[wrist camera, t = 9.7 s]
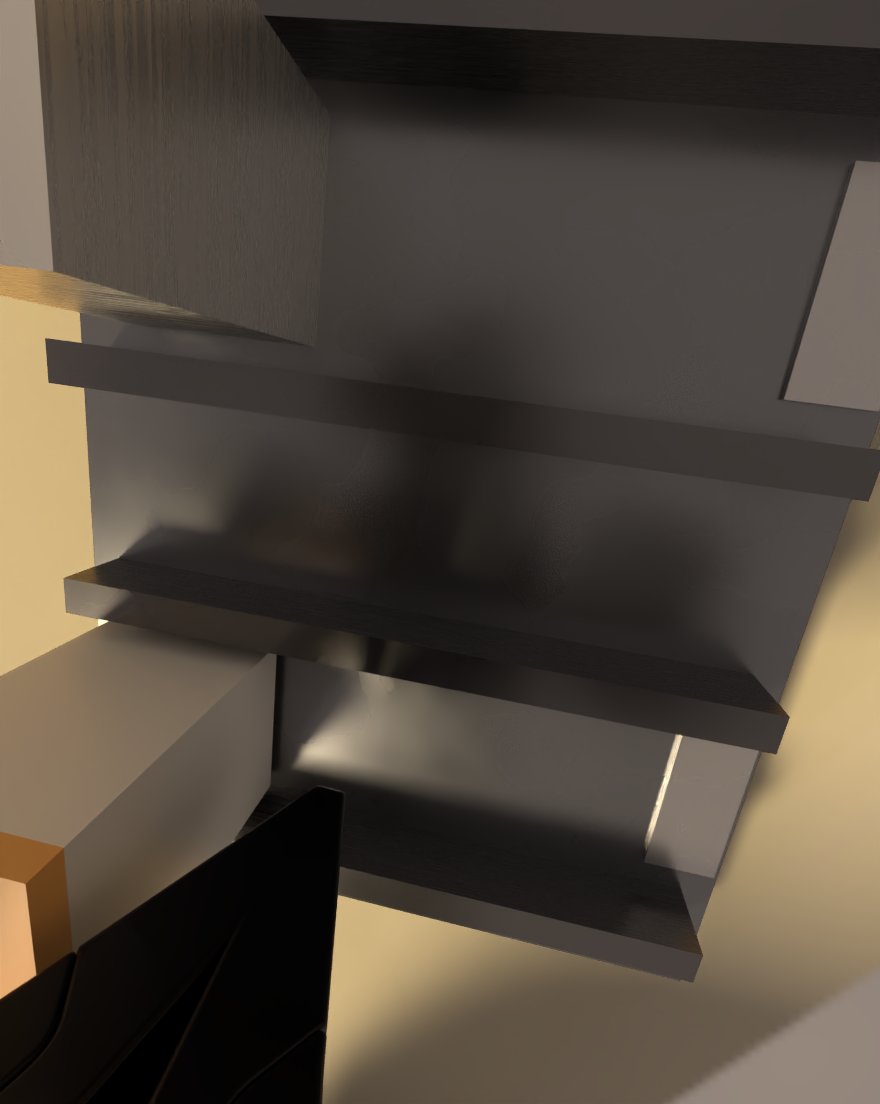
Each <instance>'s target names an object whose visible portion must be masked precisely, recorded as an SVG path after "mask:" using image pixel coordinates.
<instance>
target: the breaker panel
mask: <svg viewBox="0 0 880 1104" xmlns="http://www.w3.org/2000/svg"><path fill="white" fill-rule="evenodd" d="M0 295H1V296H5V297H10V298H15V299H19V300H24V301H29V302H33V303H38V304H42V305H47V306H52V307H56V308H61V309H66V310H70V311H75V312H80V322H81V339H82V343H77V342H70V341H62V340H55V339H47V338H45V341H46V354H47V367H48V380H49V383H54V384H61V385H68V386H75V387H82V388H84V391H85V408H86V425H87V443H88V460H89V477H90V494H91V512H92V529H93V546H94V563H95V567H93V568H90V569H87V570H84V571H82V572H79V573H76V574H73V575H71V576H68V577H65V578H64V591H65V604H66V613H70V614H75V615H80V616H85V617H90V618H95V619H98V626H100V625H102V624H104V623H106V622H108V621H111V622H116V623H121V624H126V625H131V626H136V627H141V628H146V629H151V630H156V631H161V632H166V633H171V634H176V635H181V636H186V637H191V638H196V639H201V640H206V641H211V642H216V643H221V644H226V645H231V646H236V647H241V648H246V649H251V650H256V651H261V652H266V653H271V654H276V655H277V656H276V677H275V699H274V720H273V741H272V763H271V784H270V787H269V788H268V790H267V791H266V793H265V794H264V796H263V797H262V799H261V800H260V802H259V803H258V805H257V806H256V808H255V809H254V811H253V812H252V814H251V815H250V816H249V818H248V819H247V821H246V822H245V824H244V825H243V827H242V828H241V830H240V831H239V833H238V834H237V836H236V837H235V839H234V840H233V842H234V841H235V840H237V839H238V838H240V837H241V836H243V835H244V834H245V833H247V832H248V831H250V830H251V829H253V828H254V827H256V826H257V825H259V824H260V823H262V822H263V821H265V820H266V819H268V818H269V817H271V816H272V815H274V814H275V813H276V812H278V811H279V810H281V809H282V808H284V807H285V806H287V805H288V804H290V803H291V802H293V801H294V800H296V799H297V798H299V797H300V796H302V795H303V794H304V793H306V792H307V791H309V790H310V789H312V788H313V787H316V786H324V787H328V788H331V789H335V790H339V791H343V792H344V793H345V797H346V798H345V810H344V823H343V835H342V848H341V860H340V873H339V885H338V895H341V896H345V897H348V898H352V899H356V900H360V901H364V902H368V903H372V904H376V905H380V906H384V907H388V908H392V909H396V910H400V911H404V912H408V913H412V914H416V915H420V916H424V917H428V918H432V919H436V920H440V921H444V922H448V923H452V924H456V925H460V926H464V927H468V928H472V929H476V930H480V931H484V932H488V933H492V934H496V935H500V936H504V937H508V938H512V939H516V940H520V941H524V942H528V943H532V944H536V945H540V946H544V947H548V948H552V949H556V950H560V951H564V952H568V953H572V954H576V955H580V956H584V957H588V958H592V959H596V960H600V961H604V962H608V963H612V964H616V965H619V966H623V967H627V968H631V969H635V970H639V971H643V972H647V973H651V974H655V975H659V976H663V977H667V978H671V979H675V980H679V981H680V980H685V981H689V982H693V981H694V978H695V975H696V973H697V970H698V967H699V964H700V962H701V959H702V956H703V954H702V951H701V948H700V945H699V942H698V939H697V936H696V935H697V932H698V929H699V926H700V924H701V921H702V918H703V915H704V912H705V910H706V907H707V904H708V901H709V898H710V896H711V893H712V890H713V887H714V884H715V881H716V879H717V876H718V873H719V870H720V867H721V865H722V862H723V859H724V856H725V853H726V850H727V848H728V845H729V842H730V839H731V836H732V834H733V831H734V828H735V825H736V822H737V819H738V817H739V814H740V811H741V808H742V805H743V803H744V800H745V797H746V794H747V791H748V788H749V786H750V783H751V780H752V777H753V774H754V772H755V769H756V766H757V763H758V760H759V757H760V755H761V752H767V753H772V754H776V753H777V751H778V748H779V745H780V742H781V740H782V737H783V734H784V731H785V729H786V726H787V723H788V720H789V718H790V717H789V716H788V715H787V713H786V712H785V711H784V710H783V709H782V708H781V706H780V705H779V701H780V698H781V695H782V693H783V690H784V687H785V684H786V681H787V679H788V676H789V673H790V670H791V667H792V664H793V662H794V659H795V656H796V653H797V650H798V648H799V645H800V642H801V639H802V636H803V634H804V631H805V628H806V625H807V622H808V619H809V617H810V614H811V611H812V608H813V605H814V603H815V600H816V597H817V594H818V591H819V588H820V586H821V583H822V580H823V577H824V574H825V572H826V569H827V566H828V563H829V560H830V557H831V555H832V552H833V549H834V546H835V543H836V541H837V538H838V535H839V532H840V529H841V526H842V524H843V521H844V518H845V515H846V512H847V510H848V507H849V504H850V501H851V499H855V500H862V501H869V498H870V496H871V493H872V490H873V487H874V485H875V482H876V479H877V476H878V474H879V471H880V450H874V449H869V448H870V445H871V442H872V439H873V436H874V433H875V431H876V428H877V425H878V422H879V419H880V0H0Z"/></svg>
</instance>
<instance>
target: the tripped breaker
mask: <svg viewBox="0 0 880 1104" xmlns="http://www.w3.org/2000/svg"><path fill="white" fill-rule="evenodd" d="M276 656H277V655H276V654H271V653H266V652H261V651H256V650H251V649H246V648H241V647H236V646H231V645H226V644H221V643H216V642H211V641H206V640H201V639H196V638H191V637H186V636H181V635H176V634H171V633H166V632H161V631H156V630H151V629H146V628H141V627H136V626H131V625H126V624H121V623H116V622H111V621H108V622H106V623H104V624H102V625H100V626H98V627H96V628H94V629H92V630H90V631H88V632H86V633H84V634H83V635H81V636H79V637H77V638H75V639H73V640H71V641H69V642H67V643H65V644H63V645H61V646H59V647H57V648H55V649H53V650H51V651H49V652H47V653H45V654H43V655H41V656H39V657H37V658H35V659H34V660H32V661H30V662H28V663H26V664H24V665H22V666H20V667H18V668H16V669H14V670H12V671H10V672H8V673H6V674H4V675H2V676H0V999H1V998H2V997H4V996H5V995H7V994H8V993H10V992H11V991H13V990H14V989H16V988H17V987H19V986H20V985H22V984H24V983H25V982H27V981H28V980H30V979H31V978H33V977H34V976H36V975H37V974H39V973H40V972H42V971H43V970H45V969H46V968H48V967H49V966H50V965H52V964H53V963H55V962H56V961H58V960H59V959H61V958H62V957H64V956H65V955H67V954H68V953H70V952H76V954H77V950H78V948H79V947H80V946H81V945H82V944H83V943H85V942H86V941H88V940H89V939H91V938H92V937H94V936H95V935H97V934H98V933H100V932H101V931H103V930H104V929H105V928H107V927H108V926H110V925H111V924H113V923H114V922H116V921H117V920H119V919H120V918H122V917H123V916H125V915H126V914H128V913H129V912H131V911H132V910H133V909H135V908H136V907H138V906H139V905H141V904H142V903H144V902H145V901H147V900H148V899H150V898H151V897H153V896H154V895H156V894H157V893H159V892H160V891H161V890H163V889H164V888H166V887H167V886H169V885H170V884H172V883H173V882H175V881H176V880H178V879H179V878H181V877H182V876H184V875H185V874H187V873H188V872H189V871H191V870H192V869H194V868H195V867H197V866H198V865H200V864H201V863H203V862H204V861H206V860H207V859H209V858H210V857H212V856H213V855H215V854H216V853H217V852H219V851H220V850H222V849H223V848H225V847H226V846H228V845H229V844H231V843H232V842H233V840H234V839H235V837H236V836H237V834H238V833H239V831H240V830H241V828H242V827H243V825H244V824H245V822H246V821H247V819H248V818H249V816H250V815H251V814H252V812H253V811H254V809H255V808H256V806H257V805H258V803H259V802H260V800H261V799H262V797H263V796H264V794H265V793H266V791H267V790H268V788H269V787H270V784H271V763H272V741H273V720H274V699H275V677H276Z"/></svg>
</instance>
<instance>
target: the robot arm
mask: <svg viewBox="0 0 880 1104" xmlns="http://www.w3.org/2000/svg"><path fill="white" fill-rule="evenodd" d="M345 798H346V797H345V793H344V792H343V791H339V790H335V789H331V788H328V787H324V786H316V787H313V788H312V789H310V790H309V791H307V792H306V793H304V794H303V795H302V796H300V797H299V798H297V799H296V800H294V801H293V802H291V803H290V804H288V805H287V806H285V807H284V808H282V809H281V810H279V811H278V812H276V813H275V814H274V815H272V816H271V817H269V818H268V819H266V820H265V821H263V822H262V823H260V824H259V825H257V826H256V827H254V828H253V829H251V830H250V831H248V832H247V833H245V834H244V835H243V836H241V837H240V838H238V839H237V840H235V841H234V842H232V843H231V844H229V845H228V846H226V847H225V848H223V849H222V850H220V851H219V852H217V853H216V854H215V855H213V856H212V857H210V858H209V859H207V860H206V861H204V862H203V863H201V864H200V865H198V866H197V867H195V868H194V869H192V870H191V871H189V872H188V873H187V874H185V875H184V876H182V877H181V878H179V879H178V880H176V881H175V882H173V883H172V884H170V885H169V886H167V887H166V888H164V889H163V890H161V891H160V892H159V893H157V894H156V895H154V896H153V897H151V898H150V899H148V900H147V901H145V902H144V903H142V904H141V905H139V906H138V907H136V908H135V909H133V910H132V911H131V912H129V913H128V914H126V915H125V916H123V917H122V918H120V919H119V920H117V921H116V922H114V923H113V924H111V925H110V926H108V927H107V928H105V929H104V930H103V931H101V932H100V933H98V934H97V935H95V936H94V937H92V938H91V939H89V940H88V941H86V942H85V943H83V944H82V945H81V946H80V947H79V948H78V950H77V954H76V952H70V953H68V954H67V955H65V956H64V957H62V958H61V959H59V960H58V961H56V962H55V963H53V964H52V965H50V966H49V967H48V968H46V969H45V970H43V971H42V972H40V973H39V974H37V975H36V976H34V977H33V978H31V979H30V980H28V981H27V982H25V983H24V984H22V985H20V986H19V987H17V988H16V989H14V990H13V991H11V992H10V993H8V994H7V995H5V996H4V997H2V998H1V999H0V1104H322V1096H323V1077H324V1064H325V1051H326V1039H327V1036H326V1032H327V1022H328V1010H329V997H330V985H331V972H332V960H333V947H334V935H335V922H336V910H337V897H338V885H339V873H340V860H341V848H342V835H343V823H344V810H345Z"/></svg>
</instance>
